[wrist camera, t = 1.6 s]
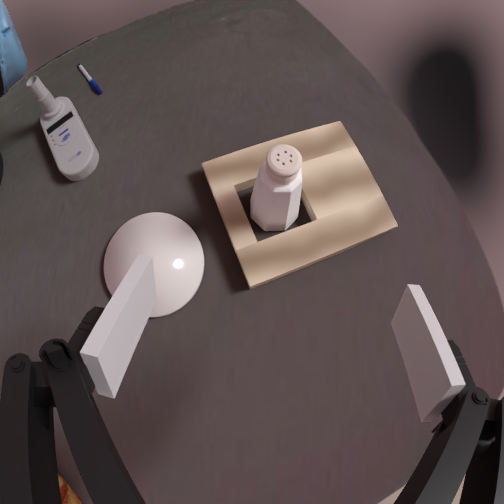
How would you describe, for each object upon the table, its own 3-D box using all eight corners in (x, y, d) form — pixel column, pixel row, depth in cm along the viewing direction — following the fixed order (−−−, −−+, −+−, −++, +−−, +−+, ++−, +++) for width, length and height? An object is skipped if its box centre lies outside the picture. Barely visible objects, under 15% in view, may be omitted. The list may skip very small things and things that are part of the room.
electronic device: (33, 155, 26) (12, 83, 28) (73, 190, 35) (43, 121, 38) (74, 124, 27) (45, 59, 29) (106, 166, 36) (71, 100, 38)
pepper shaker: (285, 179, 35) (299, 121, 25) (307, 221, 34) (332, 175, 23) (240, 196, 35) (237, 142, 24) (261, 241, 34) (267, 200, 23)
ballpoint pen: (104, 92, 39) (102, 88, 38) (99, 96, 39) (97, 92, 38) (80, 64, 40) (78, 61, 39) (76, 68, 40) (74, 64, 39)
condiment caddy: (203, 171, 35) (201, 163, 33) (336, 130, 37) (340, 120, 35) (249, 289, 32) (250, 286, 30) (390, 231, 34) (397, 225, 32)
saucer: (96, 236, 33) (93, 234, 33) (185, 200, 35) (184, 197, 34) (123, 331, 31) (120, 331, 30) (220, 295, 32) (219, 294, 31)
